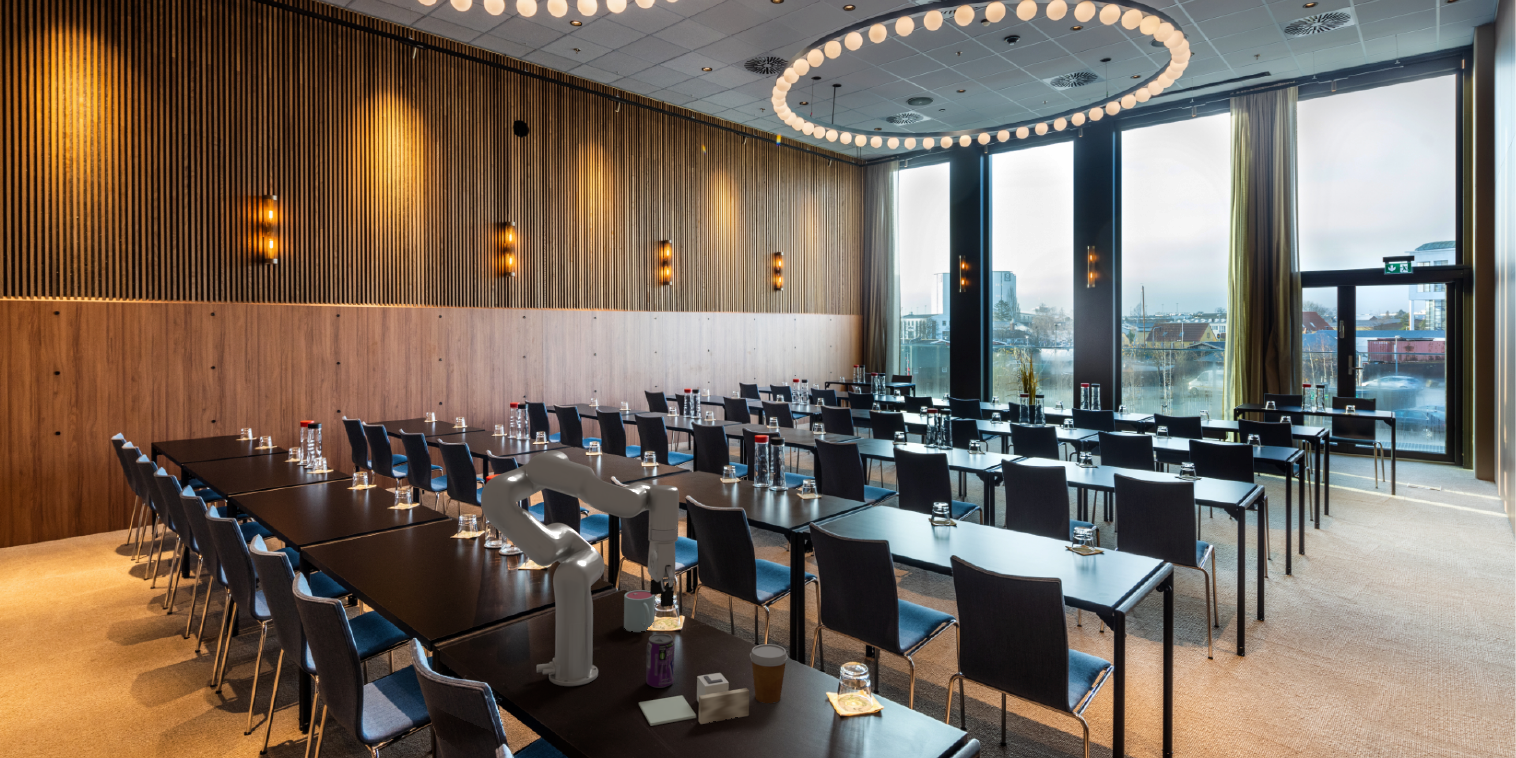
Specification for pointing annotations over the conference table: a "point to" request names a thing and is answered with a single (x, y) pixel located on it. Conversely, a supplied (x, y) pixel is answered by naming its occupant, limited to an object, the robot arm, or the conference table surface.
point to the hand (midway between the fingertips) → (661, 599)
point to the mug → (638, 610)
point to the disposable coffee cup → (768, 671)
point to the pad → (667, 710)
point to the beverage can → (660, 661)
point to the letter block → (711, 684)
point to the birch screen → (723, 705)
